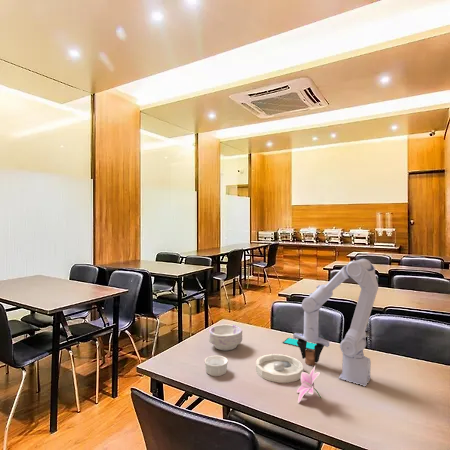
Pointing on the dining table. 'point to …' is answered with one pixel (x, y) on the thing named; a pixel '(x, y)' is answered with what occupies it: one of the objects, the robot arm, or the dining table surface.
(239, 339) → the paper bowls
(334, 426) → the dining table surface
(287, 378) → the ring tray
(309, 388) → the lily
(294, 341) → the smartphone
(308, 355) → the pepper mill
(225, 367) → the ramekin
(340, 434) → the dining table surface
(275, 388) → the dining table surface
